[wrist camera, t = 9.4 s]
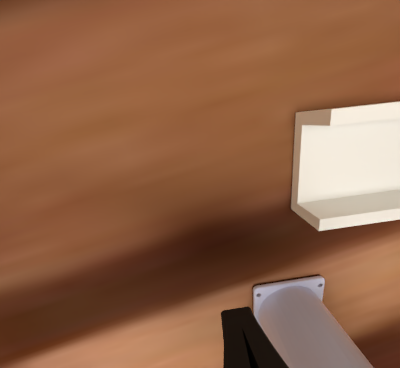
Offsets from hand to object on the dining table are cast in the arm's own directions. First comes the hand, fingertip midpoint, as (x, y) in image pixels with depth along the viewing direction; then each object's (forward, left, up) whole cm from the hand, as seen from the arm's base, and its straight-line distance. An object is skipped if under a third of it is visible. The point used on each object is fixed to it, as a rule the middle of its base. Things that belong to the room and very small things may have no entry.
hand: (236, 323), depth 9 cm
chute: (+5, -19, -9) cm, 22 cm away
